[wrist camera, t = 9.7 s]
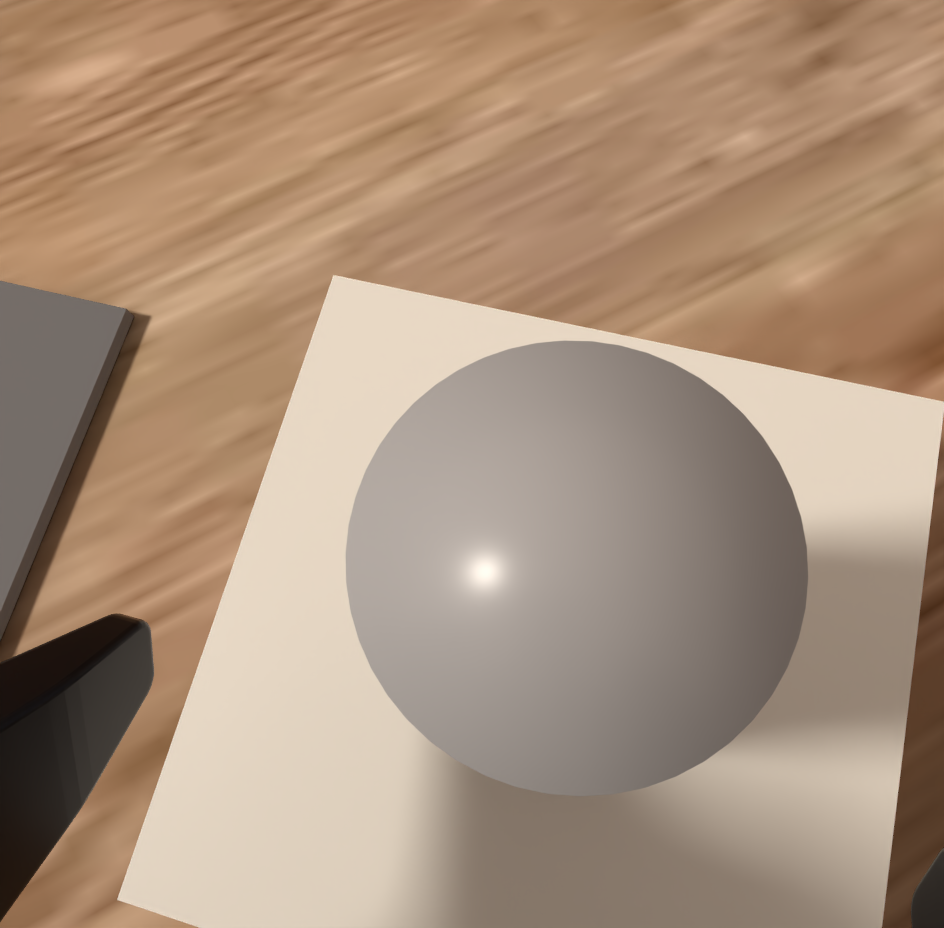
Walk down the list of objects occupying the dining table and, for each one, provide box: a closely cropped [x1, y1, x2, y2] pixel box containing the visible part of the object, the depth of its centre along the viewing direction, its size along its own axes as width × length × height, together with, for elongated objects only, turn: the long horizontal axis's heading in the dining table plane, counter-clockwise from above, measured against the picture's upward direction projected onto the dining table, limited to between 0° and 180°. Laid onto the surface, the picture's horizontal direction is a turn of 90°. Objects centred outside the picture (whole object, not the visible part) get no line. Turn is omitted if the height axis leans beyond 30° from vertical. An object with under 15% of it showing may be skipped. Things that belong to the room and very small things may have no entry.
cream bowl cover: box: [117, 275, 944, 928], centre depth 11 cm, size 11×11×12 cm
